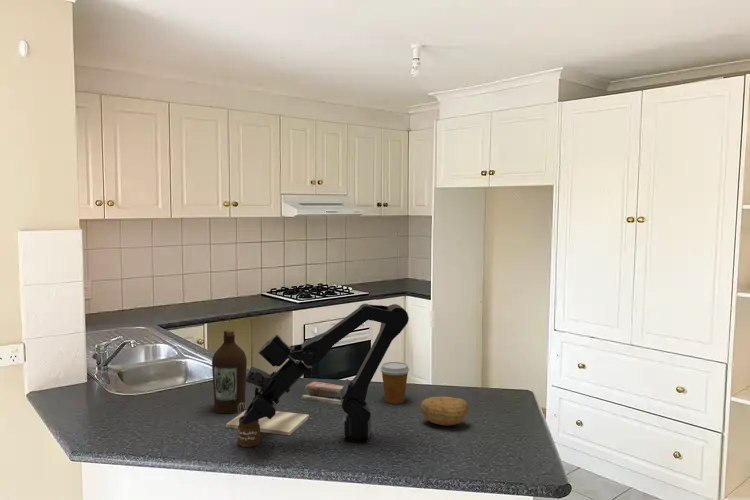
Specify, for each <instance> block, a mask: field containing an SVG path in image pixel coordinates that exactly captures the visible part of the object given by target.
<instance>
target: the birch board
mask: <svg viewBox="0 0 750 500" xmlns="http://www.w3.org/2000/svg"><path fill="white" fill-rule="evenodd" d="M245 412H246V410H243V412H242V413H241V412H240V413H239V414H240V415H239V414H238V415H237V416H236V417H235V418H233V419H231V420H230V421H228V422H227V423H225V428H227V429H235V430H238V426H239V418H240V416H241V417H242V416H244V413H245ZM309 418H310V414H304V413H298V412H297V413H296V412H288V411H279V410H276V414H275V415H274V416H273V417H272V418H271V419H268V418H267V417H264V418H261V419H259V422H258V423H259V425H260V433H268V434H274V435H281V436H282V435H283V436H291V434H293V433H294V432H295V431H296V430H297V429H298V428H300V427H301V426H302V425H304V423H305V422H306V421H307V420H309Z"/></svg>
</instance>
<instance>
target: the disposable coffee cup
mask: <svg viewBox="0 0 750 500" xmlns="http://www.w3.org/2000/svg"><path fill="white" fill-rule="evenodd" d="M408 365H409V364H407V363H405V362H402V361H401V362H400V361H389V362H387V361H386V362H384V363H383V362H382V364H381V367H380V372H381V376H382V384H383V394H384V401H385V402H386V403H388V404H392V405H394V404H395V405H396V404H397V405H398V404H402V403H405V396H406V391H407V390H406V389H407V381H408V374H409V372H410V368H409V366H408Z"/></svg>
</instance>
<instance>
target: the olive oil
mask: <svg viewBox="0 0 750 500" xmlns="http://www.w3.org/2000/svg"><path fill="white" fill-rule="evenodd" d="M235 335H236V334H235V330H234V329H226V330H223V343H222V344H221V346H220V347H219V348H218V349H217V350H216V351H215V353H213V356H212V360H211V369H212V384H213V385H212V386H213V402H214V405H213V406H214V411H215V412H216V413H219V414H222V415H223V414H225V415H226V414H227V415H228V414H229V415H230V414H237V413H241V412H242V411H245V410H246V406H245V405H246V385H247V382H246V381H245V380H246V377H247V365H248V364H247V362H248V359H247V356H246V353H245V351H244V350H243V349H242V348H241V347H240V346H239V345H238V344H237V343H236V342H235V341H236V340H235V338H236V337H235ZM240 403H241V404H240ZM243 403H244V404H243ZM240 405H241V407H240ZM244 409H245V410H244ZM238 410H239V412H238ZM240 410H241V411H240Z"/></svg>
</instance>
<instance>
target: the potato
mask: <svg viewBox="0 0 750 500" xmlns="http://www.w3.org/2000/svg"><path fill="white" fill-rule="evenodd" d="M420 411H421V414H422V415H423V416H424V418H425V419H426V420H427V421H429V422H430V423H432V424H436V425H439V426H446V427H448V426H454V425H458V424H461V423H462V422H463V421H464V420H465V419H466V417H467V414H468V413H469V407H468V403H467V401H466V400H465V399H463V398H460V397H459V398H458V397H450V396H430V397H427V398H424V399H423V400H422V401H421V404H420Z"/></svg>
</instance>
